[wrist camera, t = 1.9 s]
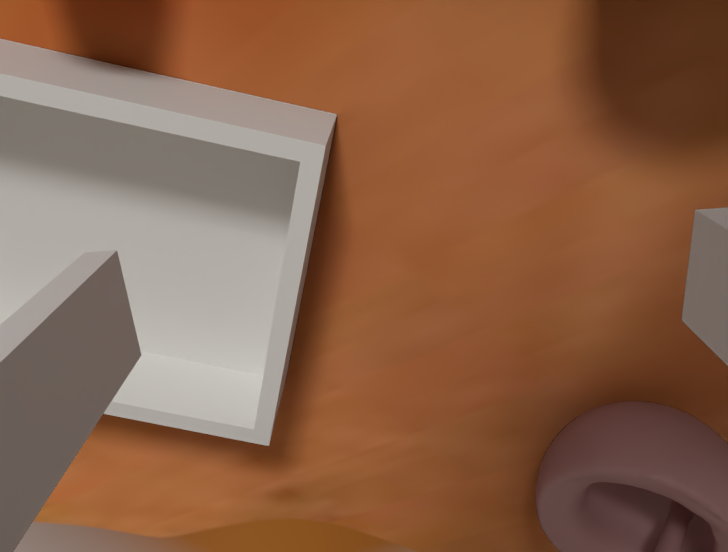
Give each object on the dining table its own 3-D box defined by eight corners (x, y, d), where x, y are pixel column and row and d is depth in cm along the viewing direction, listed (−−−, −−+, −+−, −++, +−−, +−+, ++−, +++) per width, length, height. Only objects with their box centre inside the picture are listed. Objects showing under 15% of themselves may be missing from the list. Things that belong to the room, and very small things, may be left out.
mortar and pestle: (488, 413, 43) (516, 558, 33) (662, 330, 39) (754, 464, 29) (569, 524, 47) (616, 684, 37) (733, 458, 44) (834, 615, 34)
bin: (-84, 19, 33) (-177, 34, 28) (337, 114, 34) (325, 145, 29) (-55, 314, 41) (-122, 369, 36) (285, 383, 43) (268, 445, 37)
